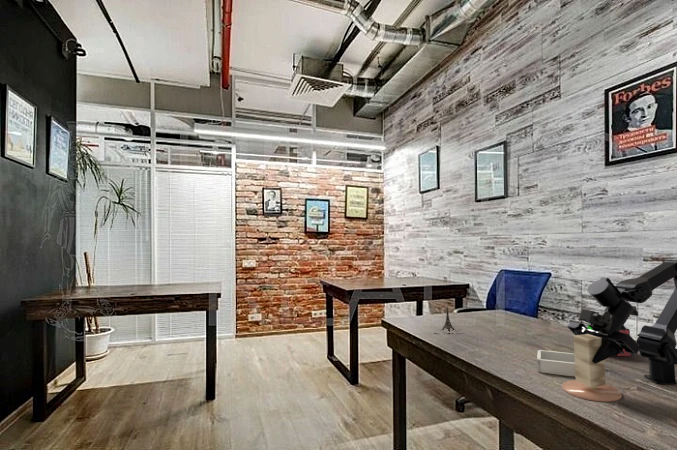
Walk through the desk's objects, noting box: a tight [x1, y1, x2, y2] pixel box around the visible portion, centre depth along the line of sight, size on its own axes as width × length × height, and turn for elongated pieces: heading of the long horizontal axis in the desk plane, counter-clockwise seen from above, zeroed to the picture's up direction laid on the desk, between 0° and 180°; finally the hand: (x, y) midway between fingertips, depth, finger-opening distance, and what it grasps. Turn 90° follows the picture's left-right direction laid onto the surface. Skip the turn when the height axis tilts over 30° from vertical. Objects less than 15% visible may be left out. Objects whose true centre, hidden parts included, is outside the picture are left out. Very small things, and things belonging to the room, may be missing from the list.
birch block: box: [573, 334, 607, 387], centre depth 108 cm, size 5×5×13 cm
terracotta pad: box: [561, 379, 623, 403], centre depth 108 cm, size 14×14×1 cm
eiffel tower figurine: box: [441, 306, 456, 332], centre depth 182 cm, size 15×10×13 cm
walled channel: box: [536, 349, 576, 378], centre depth 126 cm, size 15×12×4 cm
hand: (585, 359), depth 108 cm, fingers closed on birch block, 5 cm apart
